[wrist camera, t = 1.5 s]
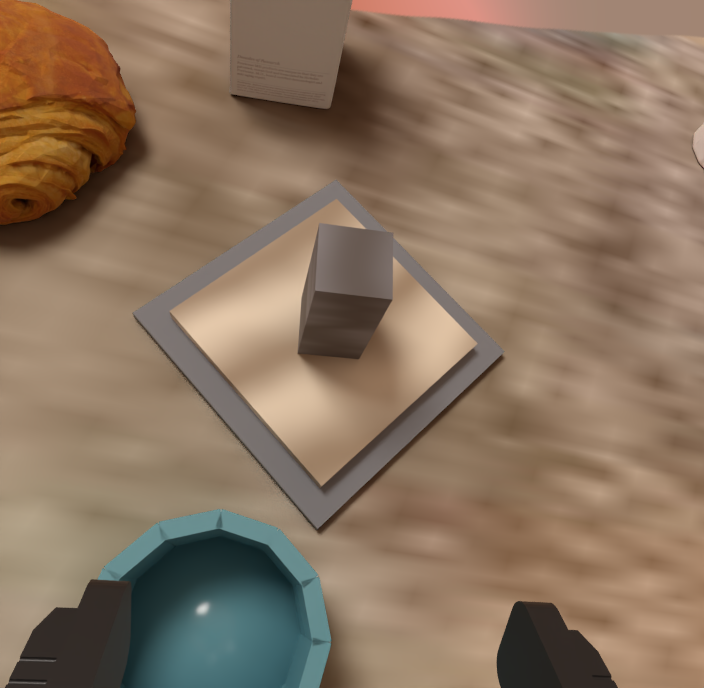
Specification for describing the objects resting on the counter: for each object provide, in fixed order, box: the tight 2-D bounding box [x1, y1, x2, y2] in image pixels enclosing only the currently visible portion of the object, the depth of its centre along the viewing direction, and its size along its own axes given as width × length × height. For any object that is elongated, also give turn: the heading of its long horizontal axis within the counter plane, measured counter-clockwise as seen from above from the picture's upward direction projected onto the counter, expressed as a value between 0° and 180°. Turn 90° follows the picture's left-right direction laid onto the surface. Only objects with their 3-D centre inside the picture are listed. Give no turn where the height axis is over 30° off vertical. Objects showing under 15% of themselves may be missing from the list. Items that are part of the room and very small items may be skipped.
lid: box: [170, 199, 478, 488], centre depth 32 cm, size 13×13×9 cm
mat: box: [133, 180, 505, 530], centre depth 36 cm, size 16×16×1 cm
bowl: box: [98, 509, 331, 688], centre depth 27 cm, size 10×10×6 cm
